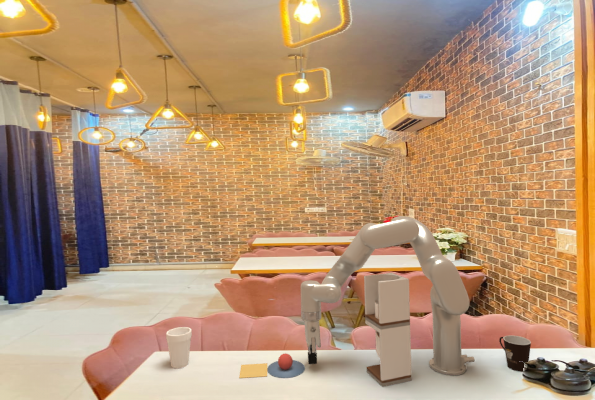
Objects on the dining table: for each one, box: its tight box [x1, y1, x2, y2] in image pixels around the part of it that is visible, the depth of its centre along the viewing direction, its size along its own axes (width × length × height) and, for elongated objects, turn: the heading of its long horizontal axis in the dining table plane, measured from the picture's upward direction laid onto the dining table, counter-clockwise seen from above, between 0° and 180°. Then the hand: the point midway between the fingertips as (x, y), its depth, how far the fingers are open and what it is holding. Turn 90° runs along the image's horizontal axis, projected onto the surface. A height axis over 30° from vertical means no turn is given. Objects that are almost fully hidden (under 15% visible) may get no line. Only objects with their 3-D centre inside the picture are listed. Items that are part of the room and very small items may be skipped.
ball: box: [277, 352, 294, 370], centre depth 135 cm, size 6×6×6 cm
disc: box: [267, 359, 306, 379], centre depth 135 cm, size 14×14×1 cm
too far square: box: [238, 362, 268, 379], centre depth 134 cm, size 10×10×1 cm
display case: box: [363, 272, 412, 388], centre depth 127 cm, size 11×11×35 cm
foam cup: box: [165, 326, 193, 369], centre depth 141 cm, size 10×9×13 cm
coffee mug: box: [498, 335, 532, 373], centre depth 133 cm, size 12×9×10 cm
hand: (312, 362), depth 136 cm, fingers closed
